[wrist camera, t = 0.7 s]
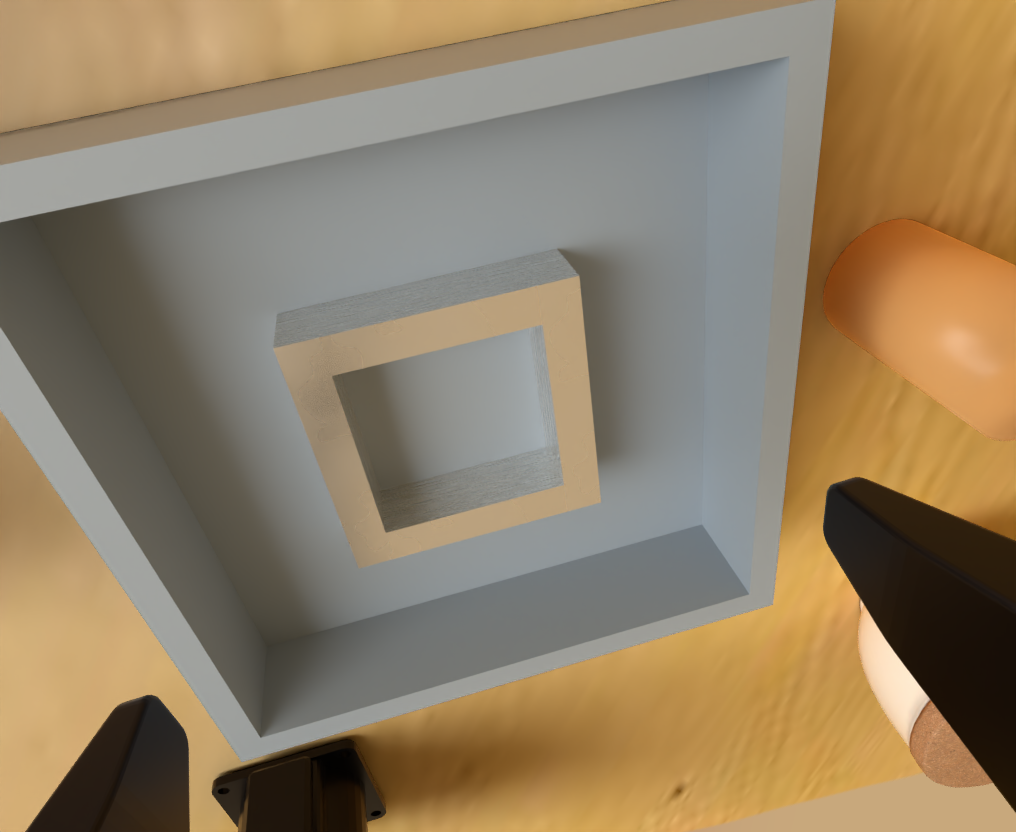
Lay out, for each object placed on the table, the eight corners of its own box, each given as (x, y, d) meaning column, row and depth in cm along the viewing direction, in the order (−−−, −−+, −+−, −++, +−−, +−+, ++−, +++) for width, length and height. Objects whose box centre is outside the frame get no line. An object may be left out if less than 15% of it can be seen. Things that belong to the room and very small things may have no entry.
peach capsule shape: (923, 320, 27) (1089, 419, 21) (816, 347, 26) (957, 456, 20) (947, 206, 24) (1143, 284, 18) (830, 234, 24) (994, 323, 18)
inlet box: (717, 525, 30) (772, 604, 27) (251, 656, 28) (241, 762, 25) (734, -12, 19) (836, -5, 15) (-47, 142, 17) (-147, 195, 13)
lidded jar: (1051, 522, 36) (1250, 675, 28) (914, 661, 40) (1054, 827, 33) (914, 478, 32) (1105, 645, 24) (777, 640, 36) (902, 825, 28)
